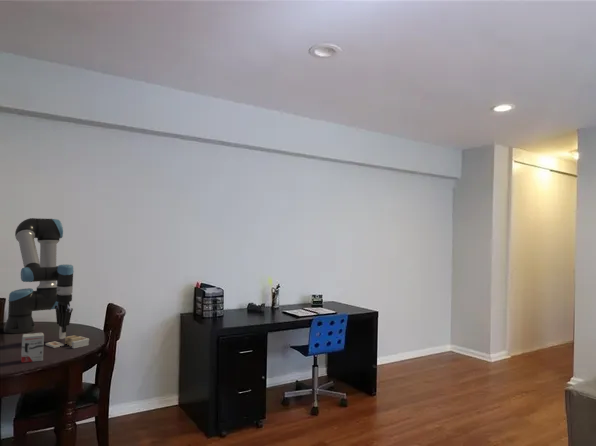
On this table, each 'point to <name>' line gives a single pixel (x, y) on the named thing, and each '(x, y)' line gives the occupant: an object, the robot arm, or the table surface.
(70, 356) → the table surface
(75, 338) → the maple block
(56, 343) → the trap pits
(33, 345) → the ink box
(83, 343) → the block
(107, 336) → the table surface
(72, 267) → the robot arm
